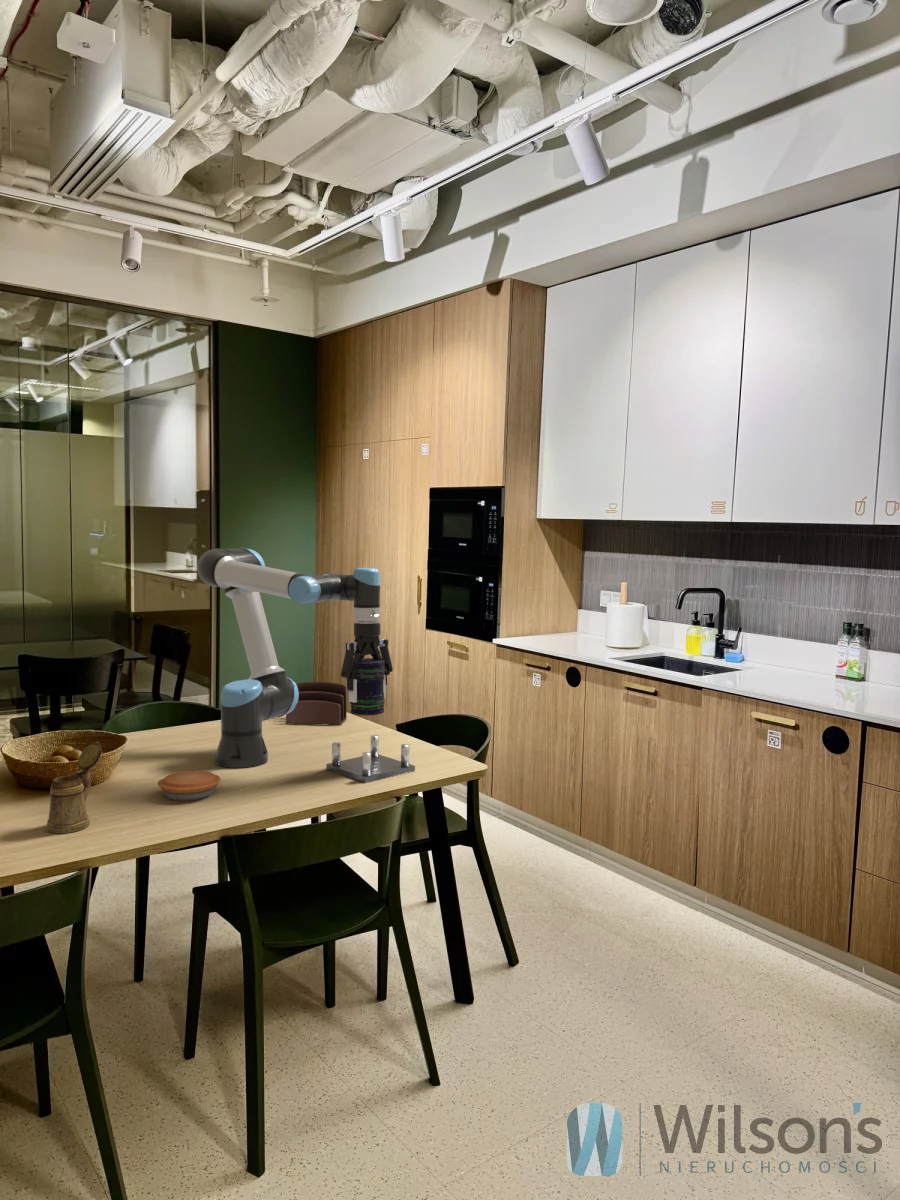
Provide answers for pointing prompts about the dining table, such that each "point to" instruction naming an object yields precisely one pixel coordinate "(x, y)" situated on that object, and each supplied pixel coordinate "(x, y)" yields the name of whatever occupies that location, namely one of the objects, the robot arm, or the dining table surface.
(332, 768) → the post base
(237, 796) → the dining table surface
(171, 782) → the pie
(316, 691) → the letter holder
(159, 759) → the dining table surface
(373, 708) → the storage jar
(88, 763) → the wooden mug
